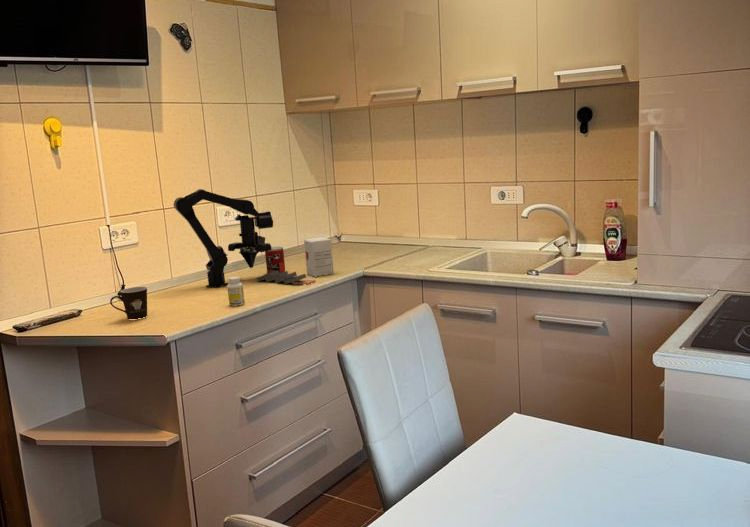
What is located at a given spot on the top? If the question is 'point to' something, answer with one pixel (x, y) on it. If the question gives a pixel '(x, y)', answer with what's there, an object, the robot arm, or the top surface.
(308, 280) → the domino
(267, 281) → the domino
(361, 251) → the top surface
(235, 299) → the supplement bottle
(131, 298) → the coffee mug
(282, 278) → the domino
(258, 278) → the domino
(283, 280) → the domino
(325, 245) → the supplement box
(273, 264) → the canned food
